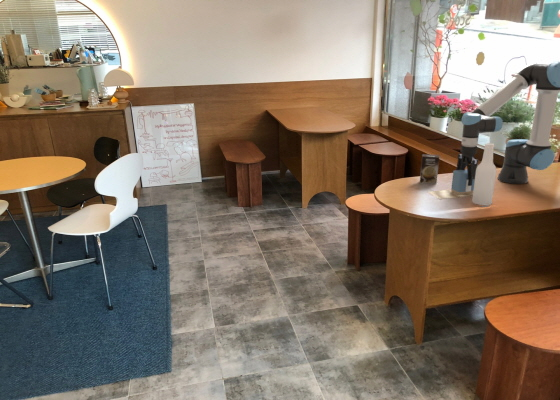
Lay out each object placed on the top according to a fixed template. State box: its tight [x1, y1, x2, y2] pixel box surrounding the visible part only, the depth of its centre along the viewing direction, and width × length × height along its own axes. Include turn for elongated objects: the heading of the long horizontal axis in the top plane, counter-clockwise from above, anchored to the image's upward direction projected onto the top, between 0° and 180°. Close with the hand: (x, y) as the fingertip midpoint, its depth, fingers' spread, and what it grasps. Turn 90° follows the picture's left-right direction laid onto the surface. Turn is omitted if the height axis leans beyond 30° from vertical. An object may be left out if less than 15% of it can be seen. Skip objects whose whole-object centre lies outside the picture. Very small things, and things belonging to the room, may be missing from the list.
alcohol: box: [471, 142, 497, 208], centre depth 214 cm, size 9×9×30 cm
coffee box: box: [419, 153, 440, 184], centre depth 249 cm, size 9×6×16 cm
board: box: [427, 188, 473, 200], centre depth 231 cm, size 22×12×1 cm, turn 103°
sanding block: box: [450, 169, 475, 195], centre depth 231 cm, size 10×6×11 cm, turn 103°
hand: (463, 189), depth 232 cm, fingers closed on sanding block, 6 cm apart
